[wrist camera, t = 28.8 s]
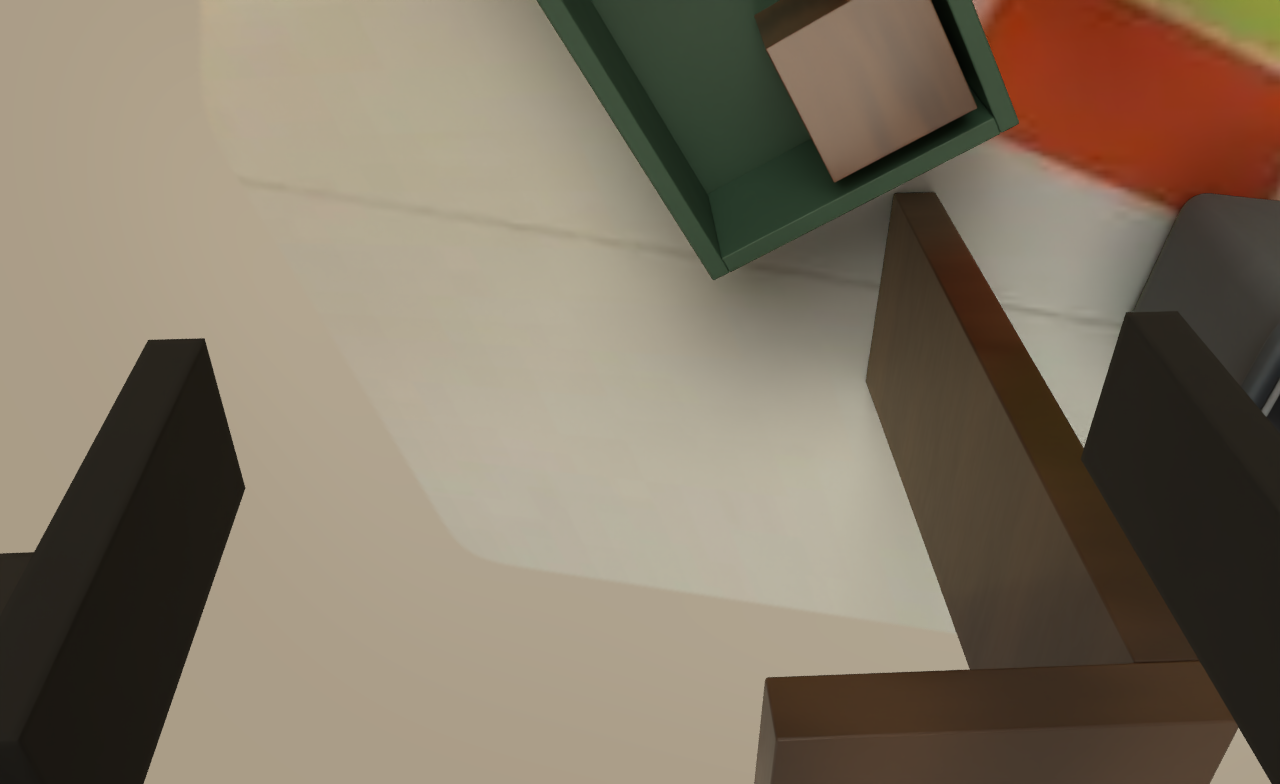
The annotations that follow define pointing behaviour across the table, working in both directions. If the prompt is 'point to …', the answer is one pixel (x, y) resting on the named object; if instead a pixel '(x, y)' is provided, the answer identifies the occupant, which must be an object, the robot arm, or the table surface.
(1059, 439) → the wooden l-shaped bracket
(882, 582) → the table surface
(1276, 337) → the storage bin
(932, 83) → the mallet
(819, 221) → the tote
